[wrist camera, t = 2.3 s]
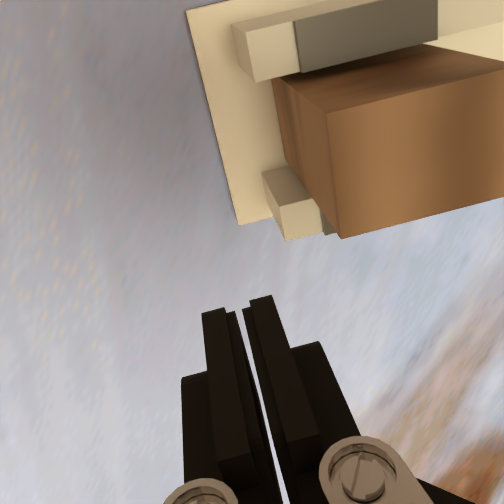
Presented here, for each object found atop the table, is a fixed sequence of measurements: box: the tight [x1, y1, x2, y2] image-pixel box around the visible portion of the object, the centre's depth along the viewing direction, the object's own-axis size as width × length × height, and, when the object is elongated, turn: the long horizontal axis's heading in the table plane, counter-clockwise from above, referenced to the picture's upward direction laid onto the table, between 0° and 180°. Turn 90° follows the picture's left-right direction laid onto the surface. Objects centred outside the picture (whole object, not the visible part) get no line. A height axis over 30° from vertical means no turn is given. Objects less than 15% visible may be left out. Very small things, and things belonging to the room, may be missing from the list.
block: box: [271, 43, 504, 239], centre depth 22 cm, size 7×5×10 cm
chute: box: [185, 0, 504, 241], centre depth 25 cm, size 26×12×6 cm, turn 102°
